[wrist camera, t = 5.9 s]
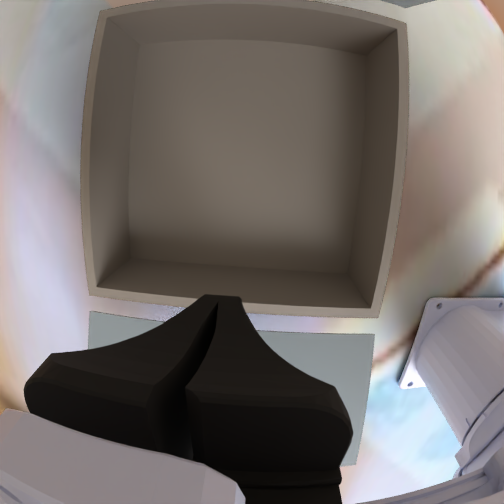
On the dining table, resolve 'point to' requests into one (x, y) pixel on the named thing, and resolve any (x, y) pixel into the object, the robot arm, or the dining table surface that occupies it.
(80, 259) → the dining table surface
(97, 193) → the carton
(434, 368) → the robot arm
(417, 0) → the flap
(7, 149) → the dining table surface
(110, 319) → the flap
